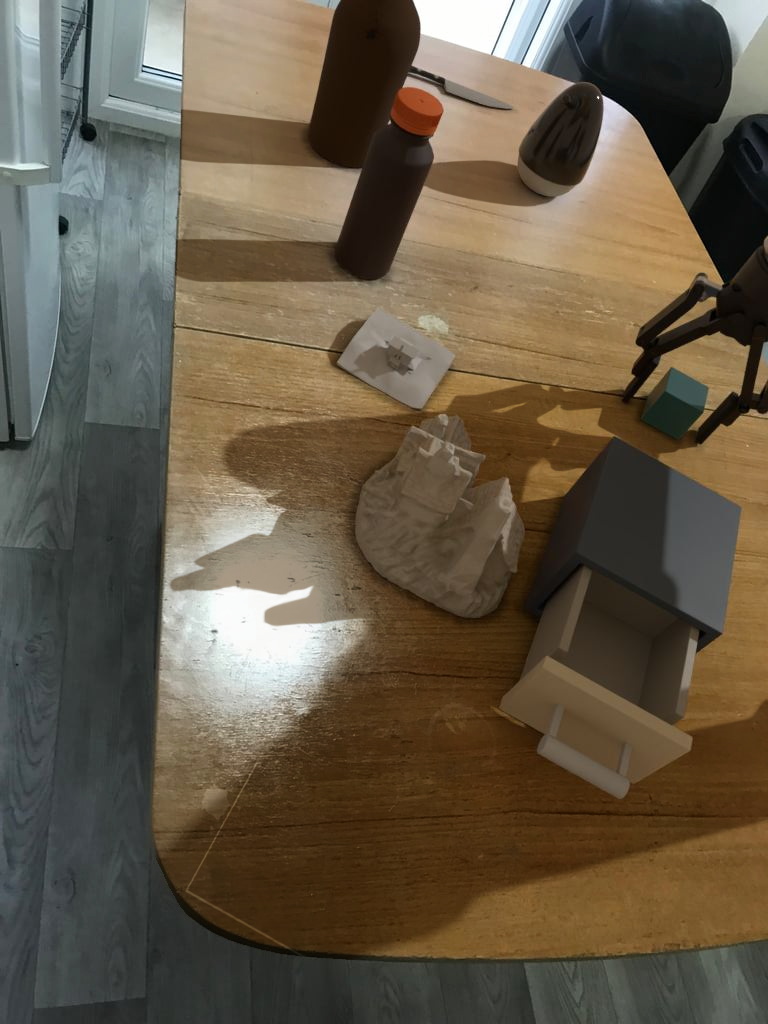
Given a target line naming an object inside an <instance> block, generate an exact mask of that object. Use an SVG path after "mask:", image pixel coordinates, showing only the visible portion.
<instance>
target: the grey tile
mask: <svg viewBox="0 0 768 1024" xmlns="http://www.w3.org/2000/svg"><path fill="white" fill-rule="evenodd" d="M456 356H457V355H456V354H455V353H453V352H452V351H450V350H449V349H448V348H447V347H445V346H444V345H442V344H440V343H439V342H437V341H435V340H433V339H432V338H430V337H428V336H427V335H425V334H424V333H422V332H420V331H419V330H417V329H416V328H414V327H412V326H411V325H410V324H407V323H405V322H404V321H402V320H401V319H399V318H398V317H396V316H394V315H393V314H391V313H389V312H388V311H386V310H385V309H384V308H382V307H381V306H378V307H377V308H376V309H375V310H374V311H373V312H372V313H371V315H369V317H368V318H367V319H366V321H365V322H364V324H363V325H362V326H361V327H360V328H359V330H358V331H357V332H356V333H355V335H354V336H353V337H352V338H351V340H350V342H349V343H348V344H347V346H346V348H345V349H344V350H343V352H342V354H341V355H340V356H339V359H338V360H337V362H336V366H338V367H339V368H341V369H342V370H343V371H346V372H347V373H349V374H351V375H352V376H354V377H356V378H358V379H359V380H361V381H362V382H364V383H366V384H368V385H369V386H371V387H373V388H376V389H377V390H379V391H380V392H383V393H385V394H387V395H388V396H389V397H391V398H392V399H395V400H396V401H398V402H401V403H402V404H404V405H406V407H408V408H411V409H415V410H419V411H421V410H422V409H423V408H424V406H425V404H426V403H427V402H428V400H429V399H430V397H431V395H432V394H433V393H434V391H435V389H436V388H437V387H438V385H439V383H440V382H441V381H442V379H443V377H444V376H445V374H446V373H447V371H448V370H449V368H450V367H451V366H452V364H453V362H454V360H455V358H456Z"/></svg>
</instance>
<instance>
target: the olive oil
mask: <svg viewBox="0 0 768 1024" xmlns="http://www.w3.org/2000/svg"><path fill="white" fill-rule="evenodd" d="M421 25H422V24H421V19H420V15H419V12H418V9H417V7H416V4H415V2H414V0H340V1H339V2H338V3H337V5H336V7H335V10H334V12H333V15H332V20H331V24H330V29H329V34H328V39H327V45H326V48H325V52H324V53H325V54H324V60H323V64H322V67H321V72H320V76H319V77H320V78H319V83H318V86H317V91H316V96H315V101H314V106H313V109H312V112H311V116H310V117H311V118H310V121H309V126H308V130H307V140H308V143H309V145H310V147H311V148H312V149H313V150H314V151H315V152H316V153H317V154H319V155H320V156H321V157H322V158H324V159H325V160H327V161H329V162H331V163H334V164H336V165H338V166H342V167H346V168H354V169H355V168H357V169H358V168H362V167H363V164H364V161H365V158H366V155H367V152H368V149H369V146H370V143H371V140H372V138H373V135H374V133H375V132H376V131H377V130H378V129H380V128H381V127H383V126H386V125H388V124H390V115H391V110H392V107H393V104H394V101H395V98H396V95H397V92H398V90H400V89H401V88H404V85H405V83H406V80H407V77H408V75H409V74H410V73H409V71H410V68H411V66H413V63H414V61H415V58H416V55H417V53H418V50H419V47H420V43H421V32H422V31H421V30H422V28H421Z"/></svg>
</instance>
